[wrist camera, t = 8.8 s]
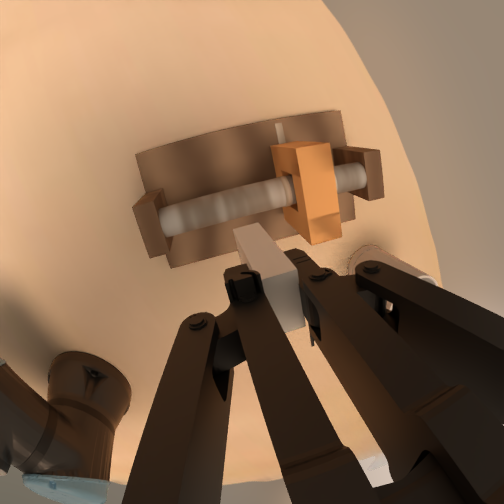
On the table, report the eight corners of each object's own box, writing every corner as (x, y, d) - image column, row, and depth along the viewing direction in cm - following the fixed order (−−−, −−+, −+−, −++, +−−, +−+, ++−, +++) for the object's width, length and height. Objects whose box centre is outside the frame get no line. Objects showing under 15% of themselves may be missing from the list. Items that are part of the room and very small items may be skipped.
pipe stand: (171, 264, 35) (165, 299, 28) (137, 154, 30) (117, 158, 22) (351, 216, 37) (386, 237, 29) (336, 111, 32) (373, 106, 24)
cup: (347, 239, 38) (398, 278, 27) (392, 239, 40) (445, 273, 29) (338, 291, 41) (380, 339, 30) (382, 287, 43) (427, 328, 32)
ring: (284, 219, 33) (311, 245, 25) (270, 146, 29) (295, 148, 22) (309, 213, 33) (342, 236, 25) (296, 141, 30) (329, 142, 22)
